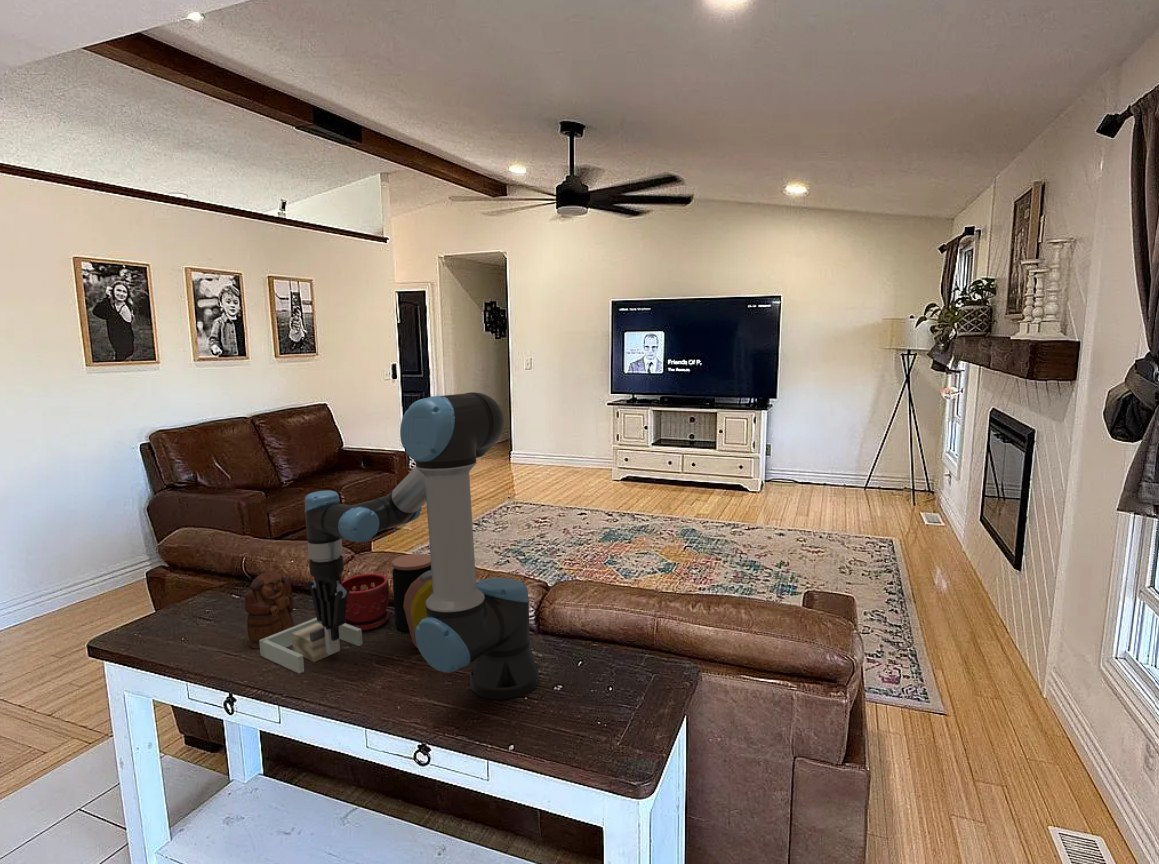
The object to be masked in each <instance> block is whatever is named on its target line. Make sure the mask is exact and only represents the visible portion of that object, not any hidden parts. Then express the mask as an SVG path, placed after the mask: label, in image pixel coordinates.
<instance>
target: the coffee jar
mask: <svg viewBox="0 0 1159 864" xmlns="http://www.w3.org/2000/svg"><path fill="white" fill-rule="evenodd" d="M391 566H392V568H393V569H392V575H391V576H392V587H393V588H392V589H393V590H392V591H393V606H394V620H395V621H394V622H395V626H396V627H397V628H398V629H399V630H400V631H401V630H402V632H404V631H405V632H406V633H410V630H409V626H408V622H407V618H406V614H405V610H404V607H403V606H404V599H405V594H406V592H407V590H408V589H409V587H410V585H411V584H412V583H413V582H414V581H415V580H416V579H417V578H418V577H419V576H421V575H422V574H423V573H425V572H427V571H430V570H431V558H430V554H425V553H411V554H405V555H401V556H397V557H396V558H395V559H393V560H392V561H391Z"/></svg>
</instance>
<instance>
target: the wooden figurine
mask: <svg viewBox="0 0 1159 864" xmlns="http://www.w3.org/2000/svg"><path fill="white" fill-rule="evenodd" d="M249 588H250V589H249V590H247V591H246V593H245V595H244V610H245V612H246V613H247V614H248V615H247V619H246V627H247V635H248V639H249V642H250V643H249V644H250V647H251V648H252V649H260V642H259V640H261V639H264V638H266V637H269V636H271V635H274V634H276V633H279V632H281V631H284V630H286V629H289V628H291V627H294V626H295V623H294V619H293V616H292V613H293V612H294V608H295V601H294V596H293V590H292V585H291V581H290V579H289V578H287V577H284V576H283V575H282V574H280V573H278V572H276V571H267V572H263V573H261V574H259V575H258V576H256V577H255V578H254V579H253V580H252V581H251V583H250V585H249Z"/></svg>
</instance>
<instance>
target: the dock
mask: <svg viewBox="0 0 1159 864" xmlns="http://www.w3.org/2000/svg"><path fill="white" fill-rule="evenodd" d="M316 623H319V624H322V622H321V621H320V622H318V621H317V617H314V618H312V619H309V620H306V621H304V622H301V623H298V624H297V625H294V627H291V628H289V629H286V630H284V631H281V632H279V633H276V634H274V635H271V636H269V637H266V638H264V639H261V640H259V642H260V648H259V650H260V651H259V652H260V657H263V658H265V659H267V660H269V661H271V662H273V663H276V664H278V665H280V666H283V667H284V668H286V669H288V670H290V671H293V672H295V673H297V674H299V675H300V674H302V673H304V672H305V667H304V666H305V662H304V657H303V655H301V654H299V653H297V652H294V651H293V649H289V647H291V646H293V642H292V633H293V632H295V631H298V630H300V629H303V628H306V627H308V626H311V625H313V624H316ZM362 631H363V630H362V629H359V628H357V627H354V626H351V625H348V624H346V623H345V624H343V625H341V626H339V640H342V641H344V642H347V643H348V644H349V643H350V644H352V645H354V646H357V647H360V646H362V645H363V632H362Z"/></svg>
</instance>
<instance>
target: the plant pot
mask: <svg viewBox="0 0 1159 864" xmlns="http://www.w3.org/2000/svg"><path fill="white" fill-rule="evenodd" d="M341 581H342V587H343V588H344V589H347V588H348V589H349V594H348V597H347V604H346V615H345V623H346V624H348V625H351V626H354V627H357V628H359V629H362V631H366V630H367V631H368V630H371V629H373V628H374V629H376V628H378V627H379V626H382V625H383V624H384V623H385V622H387V620H388V619H389V615H390V613H389V610H387V609H388V605H389V601H390V585H389V578H388V577H387V576H386V575H384V574H380V573H364V574H358V575H357V574H356V575H354V576H350V577H347V578H346V579H344V580H341ZM372 583H373V584H374V586H372ZM363 585H364V586H367V589H365V590H364V589H363V590H361V587H362V586H363ZM354 587H355V589H354V590H353V588H354Z"/></svg>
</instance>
